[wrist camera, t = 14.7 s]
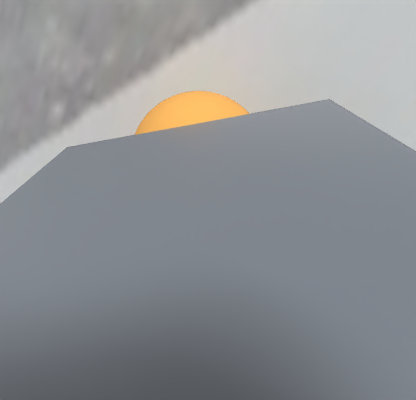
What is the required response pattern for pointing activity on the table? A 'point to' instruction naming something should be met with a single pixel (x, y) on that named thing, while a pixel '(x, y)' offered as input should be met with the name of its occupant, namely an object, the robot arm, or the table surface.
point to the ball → (189, 111)
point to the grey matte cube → (215, 264)
